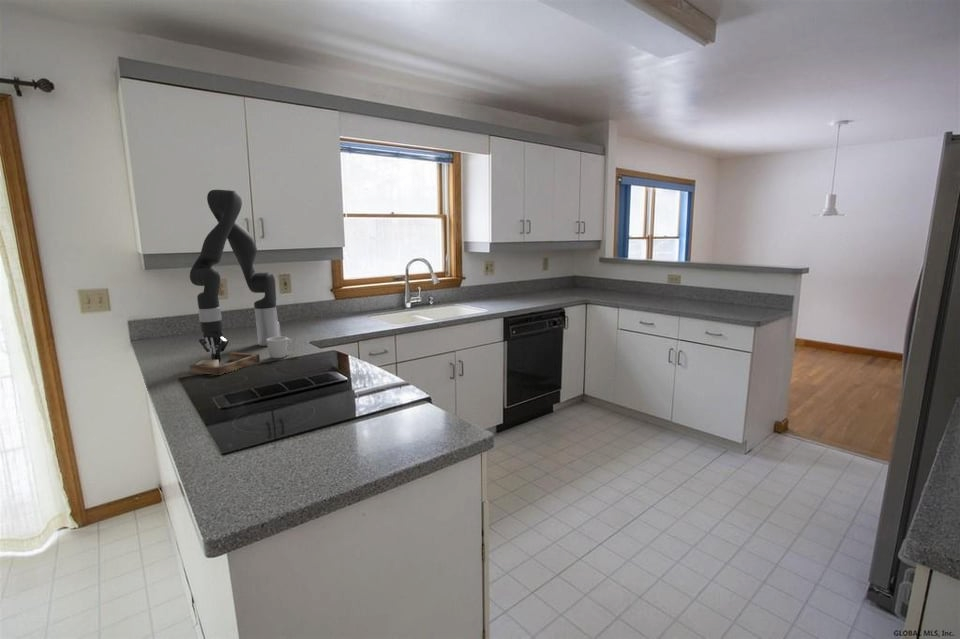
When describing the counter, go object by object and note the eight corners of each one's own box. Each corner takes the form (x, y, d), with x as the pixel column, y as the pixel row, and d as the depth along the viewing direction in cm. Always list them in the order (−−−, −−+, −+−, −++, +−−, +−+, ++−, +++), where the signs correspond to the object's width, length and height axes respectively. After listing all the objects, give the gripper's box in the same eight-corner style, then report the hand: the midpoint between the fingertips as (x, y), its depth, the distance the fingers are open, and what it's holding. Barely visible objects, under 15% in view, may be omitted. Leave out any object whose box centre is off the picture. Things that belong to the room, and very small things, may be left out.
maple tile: (219, 366, 189) (218, 359, 188) (214, 371, 183) (213, 363, 183) (202, 367, 188) (201, 360, 187) (196, 372, 182) (196, 364, 181)
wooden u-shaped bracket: (232, 359, 200) (231, 352, 199) (260, 361, 195) (259, 354, 195) (190, 373, 181) (189, 365, 181) (219, 376, 177) (218, 368, 176)
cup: (286, 352, 209) (284, 334, 208) (298, 354, 205) (296, 336, 204) (264, 358, 200) (262, 339, 199) (276, 360, 196) (274, 341, 195)
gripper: (232, 318, 188) (237, 361, 191) (205, 316, 192) (211, 359, 196) (216, 321, 181) (222, 366, 184) (189, 320, 185) (195, 364, 189)
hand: (216, 362), depth 190 cm, fingers closed
